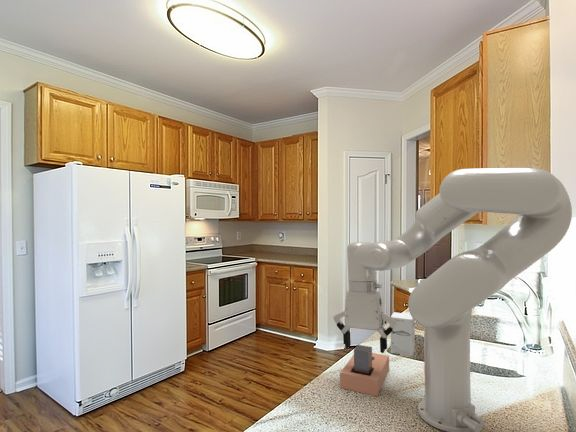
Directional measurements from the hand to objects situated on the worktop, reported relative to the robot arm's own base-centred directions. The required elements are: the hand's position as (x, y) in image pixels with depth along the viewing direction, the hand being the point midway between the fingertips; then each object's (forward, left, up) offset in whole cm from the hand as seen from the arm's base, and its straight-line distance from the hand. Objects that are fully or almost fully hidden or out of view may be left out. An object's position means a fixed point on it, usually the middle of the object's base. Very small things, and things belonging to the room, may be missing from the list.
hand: (365, 349), depth 90 cm
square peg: (+1, 0, -10) cm, 10 cm away
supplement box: (+17, -26, -10) cm, 33 cm away
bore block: (+4, -3, -10) cm, 11 cm away
